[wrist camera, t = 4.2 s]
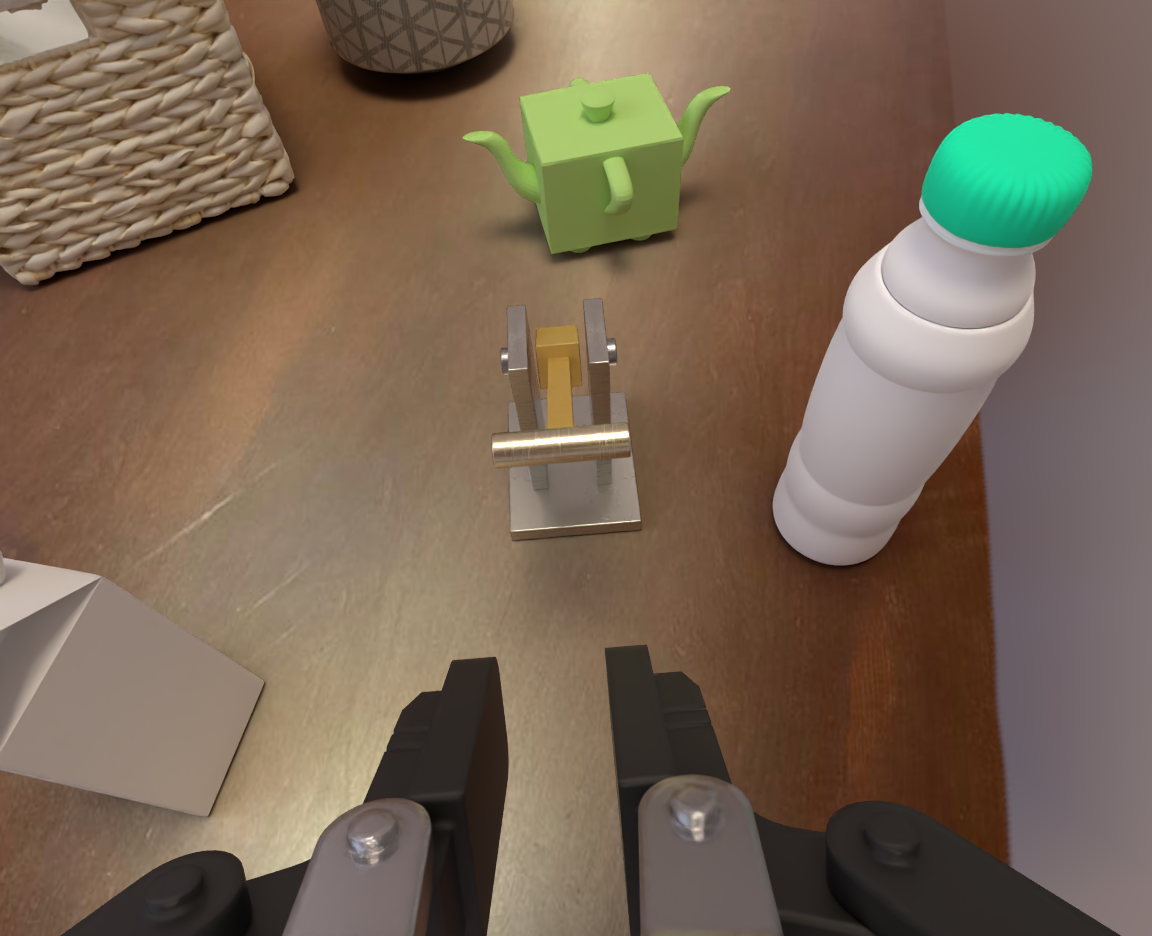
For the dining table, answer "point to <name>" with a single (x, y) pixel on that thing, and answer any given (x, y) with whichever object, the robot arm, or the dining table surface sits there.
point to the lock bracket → (575, 489)
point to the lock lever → (560, 413)
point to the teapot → (601, 159)
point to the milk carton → (113, 692)
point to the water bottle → (927, 334)
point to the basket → (123, 127)
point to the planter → (414, 32)
